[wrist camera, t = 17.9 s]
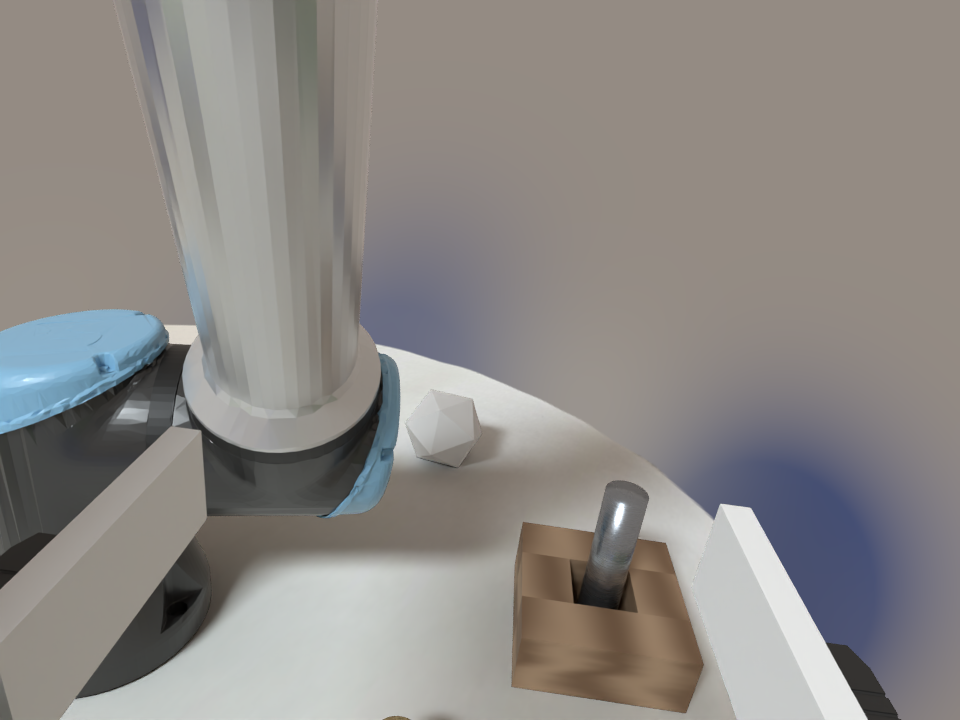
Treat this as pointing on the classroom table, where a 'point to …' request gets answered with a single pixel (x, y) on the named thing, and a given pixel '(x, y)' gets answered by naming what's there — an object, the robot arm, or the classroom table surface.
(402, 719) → the short brass pin
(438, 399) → the die
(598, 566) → the long metal pin
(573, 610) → the hole block
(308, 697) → the classroom table surface
